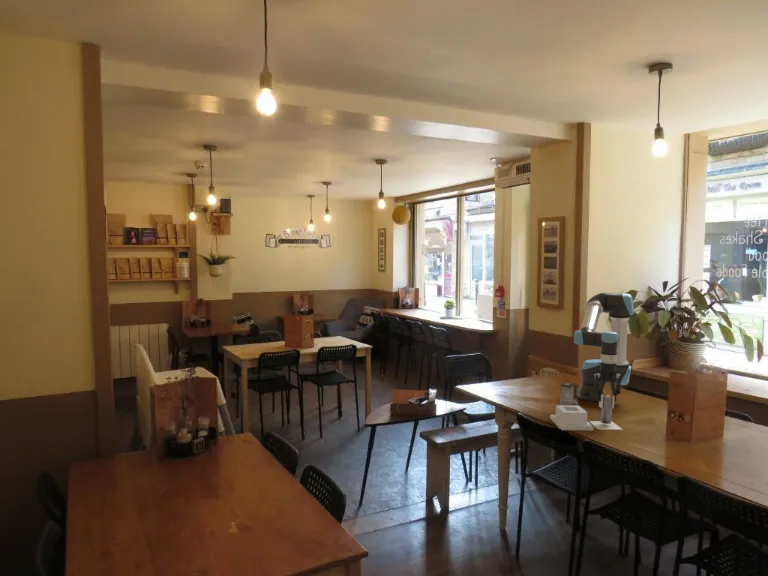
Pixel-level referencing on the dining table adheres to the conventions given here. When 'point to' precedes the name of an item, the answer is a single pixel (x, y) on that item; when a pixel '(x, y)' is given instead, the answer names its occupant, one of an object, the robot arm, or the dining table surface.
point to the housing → (571, 418)
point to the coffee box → (569, 394)
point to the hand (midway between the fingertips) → (606, 407)
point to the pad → (605, 426)
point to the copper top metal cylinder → (606, 409)
